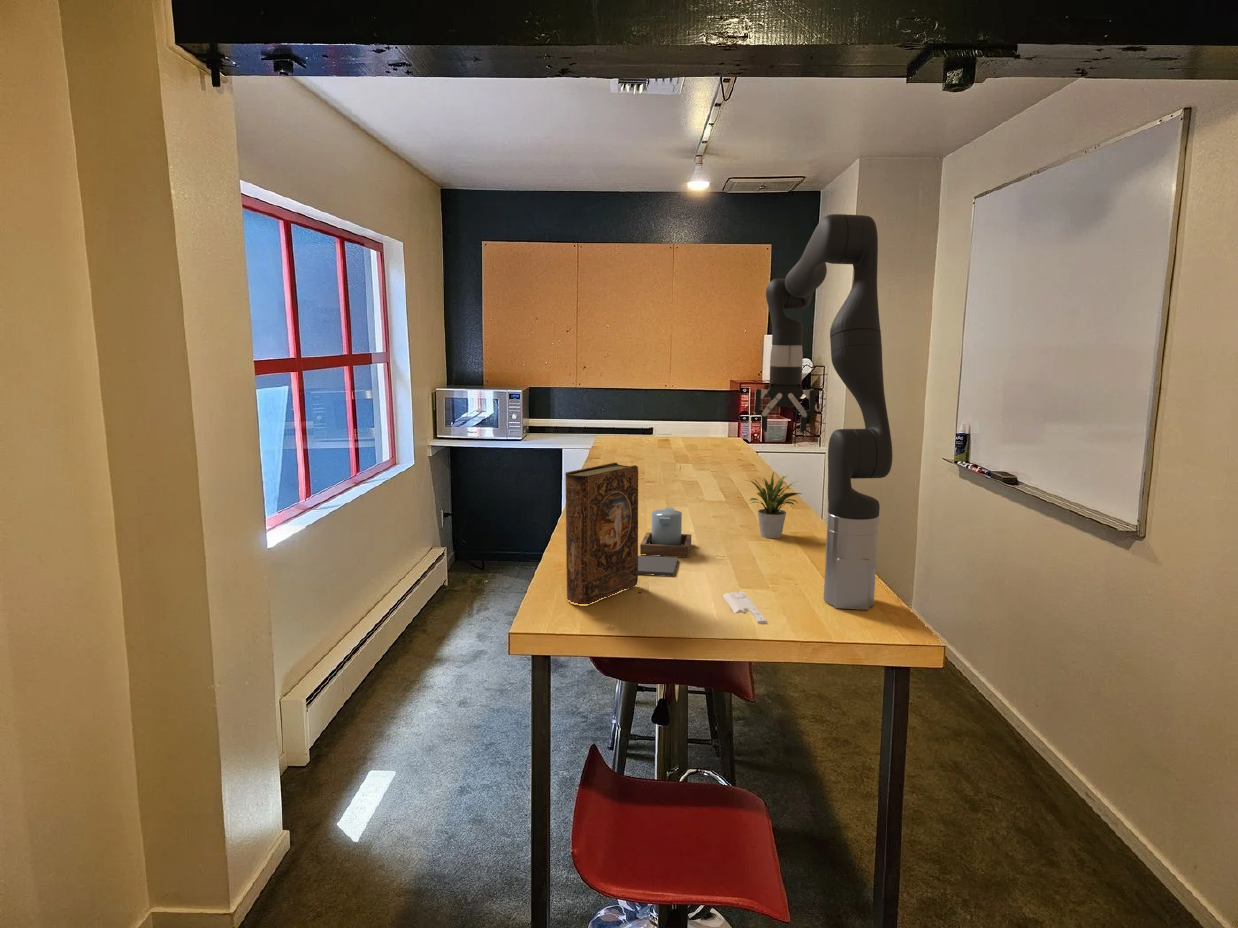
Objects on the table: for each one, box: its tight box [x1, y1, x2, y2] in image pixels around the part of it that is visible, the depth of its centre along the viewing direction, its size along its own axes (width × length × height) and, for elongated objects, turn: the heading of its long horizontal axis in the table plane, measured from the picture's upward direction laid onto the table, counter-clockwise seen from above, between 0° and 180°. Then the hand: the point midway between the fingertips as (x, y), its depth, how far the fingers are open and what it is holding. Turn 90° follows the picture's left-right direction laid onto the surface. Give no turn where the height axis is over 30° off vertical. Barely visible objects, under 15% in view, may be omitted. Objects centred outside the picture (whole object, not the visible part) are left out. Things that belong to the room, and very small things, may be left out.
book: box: [565, 462, 639, 604], centre depth 147 cm, size 16×6×25 cm, turn 141°
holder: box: [639, 532, 692, 558], centre depth 179 cm, size 11×11×2 cm
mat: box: [638, 555, 679, 577], centre depth 165 cm, size 11×11×1 cm
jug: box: [651, 506, 683, 545], centre depth 180 cm, size 13×7×9 cm, turn 171°
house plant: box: [745, 471, 802, 539], centre depth 189 cm, size 14×14×16 cm
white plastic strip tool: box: [722, 591, 768, 624], centre depth 141 cm, size 5×15×1 cm, turn 6°
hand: (783, 432), depth 183 cm, fingers open, 8 cm apart
